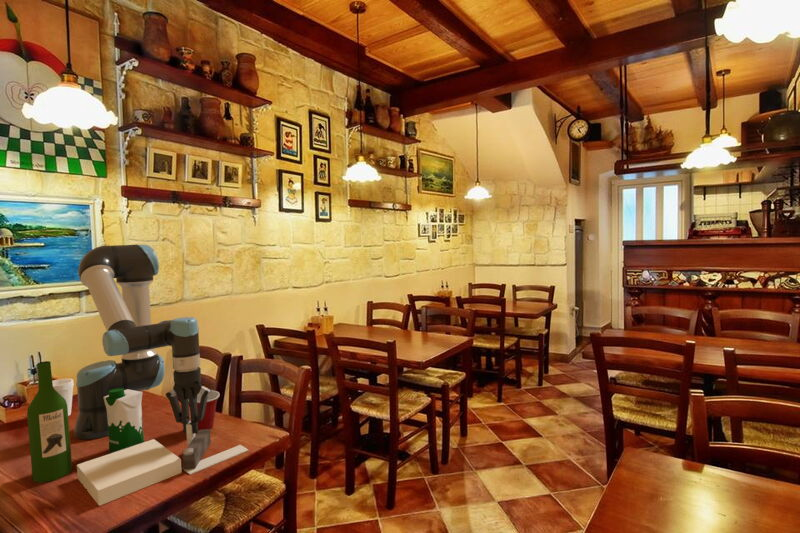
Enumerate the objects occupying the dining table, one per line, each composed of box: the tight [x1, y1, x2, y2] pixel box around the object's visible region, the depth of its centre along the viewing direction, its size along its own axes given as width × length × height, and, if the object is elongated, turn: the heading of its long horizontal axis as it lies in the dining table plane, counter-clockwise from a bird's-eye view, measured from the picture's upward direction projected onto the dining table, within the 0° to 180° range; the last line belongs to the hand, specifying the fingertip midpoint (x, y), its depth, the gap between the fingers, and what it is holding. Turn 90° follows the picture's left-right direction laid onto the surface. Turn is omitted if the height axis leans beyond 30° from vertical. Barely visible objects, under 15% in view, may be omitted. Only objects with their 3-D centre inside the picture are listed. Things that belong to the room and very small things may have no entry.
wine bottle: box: [26, 360, 73, 484], centre depth 125 cm, size 9×9×32 cm
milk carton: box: [103, 388, 145, 454], centre depth 140 cm, size 9×9×20 cm
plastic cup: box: [188, 389, 220, 432], centre depth 155 cm, size 11×11×12 cm
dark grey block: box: [182, 429, 211, 469], centre depth 134 cm, size 17×3×6 cm, turn 9°
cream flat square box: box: [76, 438, 183, 507], centre depth 125 cm, size 20×20×4 cm
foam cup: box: [52, 378, 75, 417], centre depth 169 cm, size 10×9×13 cm
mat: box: [181, 444, 250, 476], centre depth 133 cm, size 5×18×1 cm, turn 139°
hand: (191, 443), depth 137 cm, fingers closed
